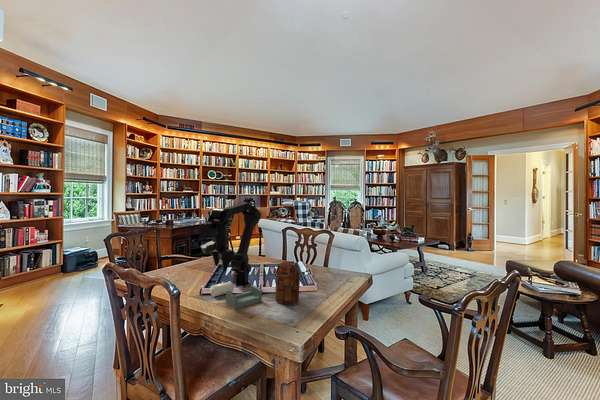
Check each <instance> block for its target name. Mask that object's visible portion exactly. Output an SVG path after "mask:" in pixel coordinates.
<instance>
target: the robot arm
mask: <svg viewBox="0 0 600 400" xmlns="http://www.w3.org/2000/svg"><path fill="white" fill-rule="evenodd" d="M240 213H241V215H243V220H244V227H243V231H242V233H241V239H240V242H239V246H238V249H237V251H236V252H235V251H234V250H233V249H230V248H229V245H228V244H227V243H228V242H227V241H229V237H228V234H227V231H228V230H227V229H228V226H230V225H231V224H230V222H229V220H230V219H232V216H235V215H237V214H240ZM261 217H262V213H261V211H260V210H259V209H258V208H256V207H255V206H253V204H251V203H250V202H249V201H248V202H247V201H246V202H245V201H241V202H240V203H237V204H232V205H231V206H227V207H214V208H213V209H212V211H211V212H210V215H209V217H208V218H207V221H206V222H203V223H202V226H200V228H199V230H198V234H199V238H201V239H202V240H209V239H211V241H208V242H206V243H204V244H202V245H200V248H201V251H202V254H205V255H208V254H210V255H211V256H212V260H213V263H214V264H213V265H214V266H215V267H218V266H219V263H220V261H221V267H222V272H226V271H227V270H228V268H229V265H230V267H231V270H232V272H234V275H233V282H232V284H235V285H236V284H237V285H236V286H239V285H241V286H244V284H245V285H248V283H249V284H250V283H251V282H250V281H249V274H250V273H251V272H252V266H251V264H249V260H250V259H249V256H248V252H249V248H250V244H251V242H252V238H253V233H254V230H255V227H256V226H257V225H258V224H259V223H260V220H261ZM239 287H240V286H239Z"/></svg>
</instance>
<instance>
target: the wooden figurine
mask: <svg viewBox="0 0 600 400" xmlns="http://www.w3.org/2000/svg"><path fill="white" fill-rule="evenodd" d="M300 276H301V275H300V271H299V269H298V268H297V266H296V265H295V264H294V262H291V261H288V260H287V261H285V260H284V261H281V262H280V263H279V264H278V265H277V267H276V271H275V302H276V303H277V304H279V305H285V306H286V305H287V306H292V305H293V306H297V305H298V304H299V302H300V282H301V277H300Z"/></svg>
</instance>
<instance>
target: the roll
mask: <svg viewBox="0 0 600 400" xmlns="http://www.w3.org/2000/svg"><path fill="white" fill-rule="evenodd" d="M226 291H230V292H231V293H233V292H234V283H233V282H232V281H226V282H222V283H218V284H214V285H211V286H210V294H211V296H212V297H213V298H214V297H218V296H223V295H226Z"/></svg>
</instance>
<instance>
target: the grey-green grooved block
mask: <svg viewBox="0 0 600 400" xmlns="http://www.w3.org/2000/svg"><path fill="white" fill-rule="evenodd" d="M262 294H263V291H262V289H260V288H259V287H257V286H255V285H253V284H250V291H247V292H242V293H239V294H234V293H233V292H230V291H226V294H225V303H226V304H227V305H228V306H230V307H231V308H233V309H234V310H236V309H239V308H243V307H246V306H250V305H253V304H257V303H261V302H262V296H263V295H262Z"/></svg>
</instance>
